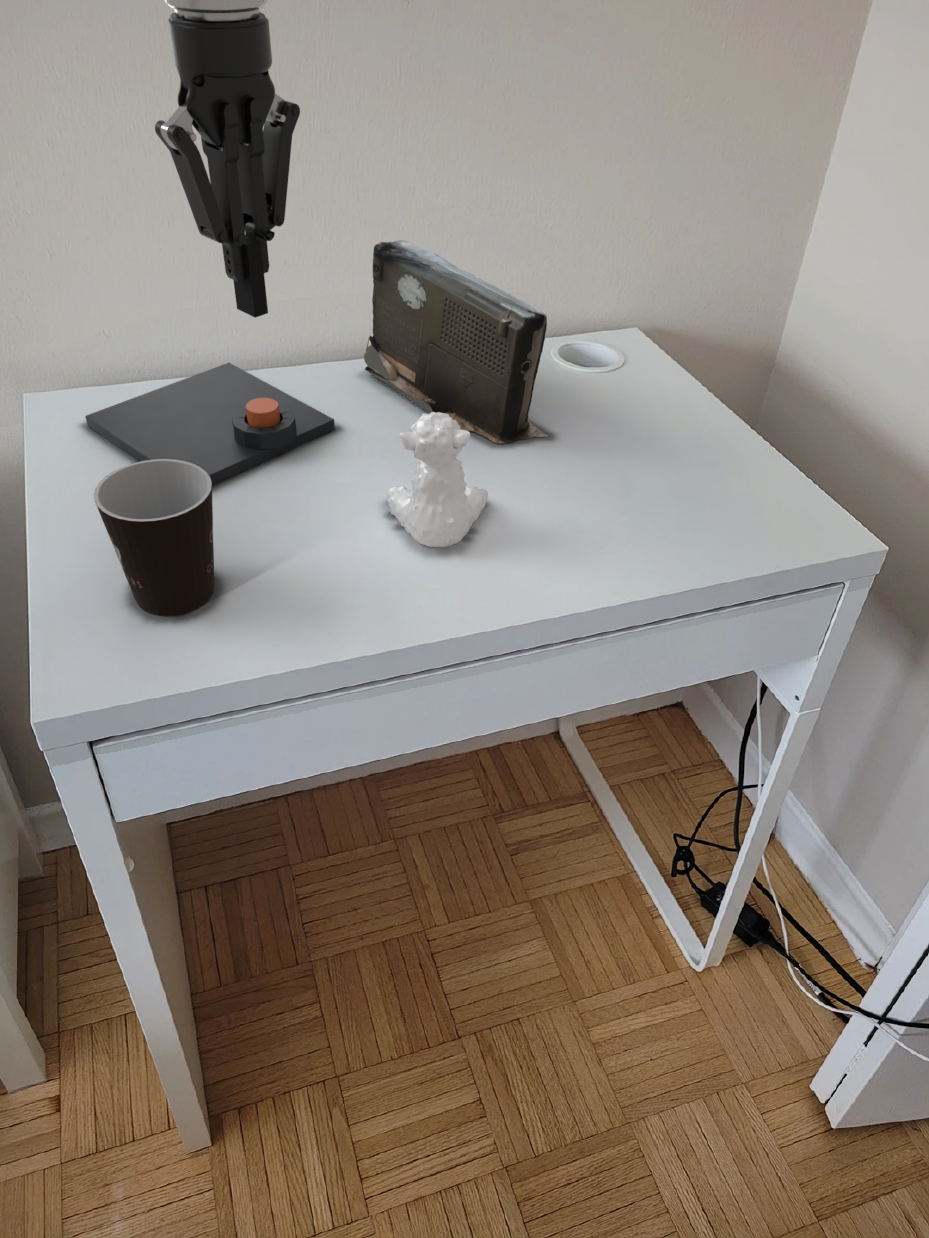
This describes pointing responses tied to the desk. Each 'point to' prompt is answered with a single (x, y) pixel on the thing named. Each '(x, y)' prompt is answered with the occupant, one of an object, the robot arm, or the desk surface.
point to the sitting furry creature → (436, 484)
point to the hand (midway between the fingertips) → (252, 310)
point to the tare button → (263, 412)
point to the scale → (209, 423)
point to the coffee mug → (161, 532)
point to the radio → (454, 342)
